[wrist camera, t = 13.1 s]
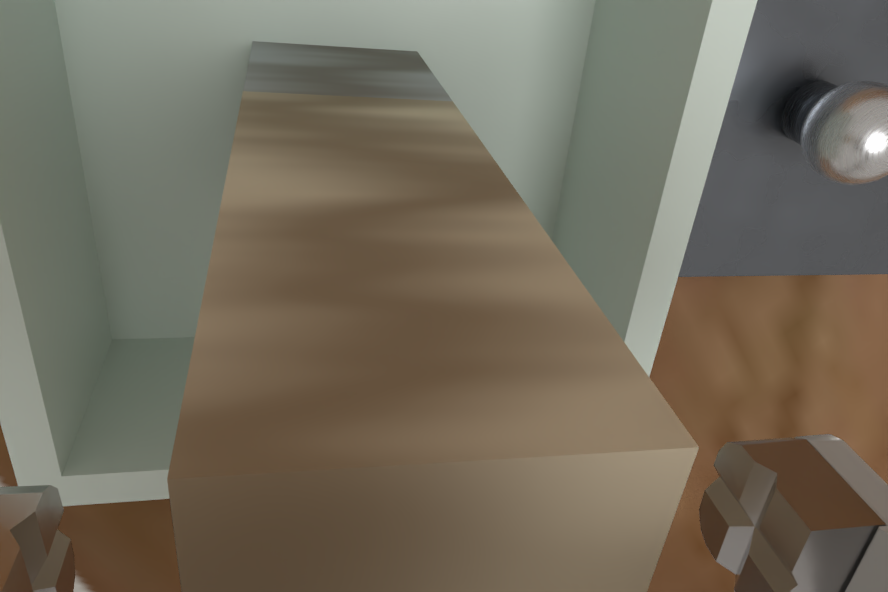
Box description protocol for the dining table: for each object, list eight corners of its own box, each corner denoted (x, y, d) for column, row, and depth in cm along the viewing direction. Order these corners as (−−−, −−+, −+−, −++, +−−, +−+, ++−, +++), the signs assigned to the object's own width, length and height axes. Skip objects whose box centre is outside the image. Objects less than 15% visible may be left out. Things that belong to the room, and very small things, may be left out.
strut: (417, 51, 20) (699, 447, 6) (405, 199, 22) (596, 729, 8) (252, 41, 19) (166, 479, 5) (257, 196, 21) (207, 787, 8)
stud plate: (876, 261, 28) (972, 326, 24) (589, 264, 26) (645, 336, 22) (1027, -83, 22) (1188, -72, 18) (672, -123, 20) (770, -121, 16)
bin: (549, 334, 27) (623, 466, 21) (90, 348, 24) (24, 508, 18) (647, -170, 19) (811, -188, 13) (-25, -256, 16) (-213, -330, 10)
